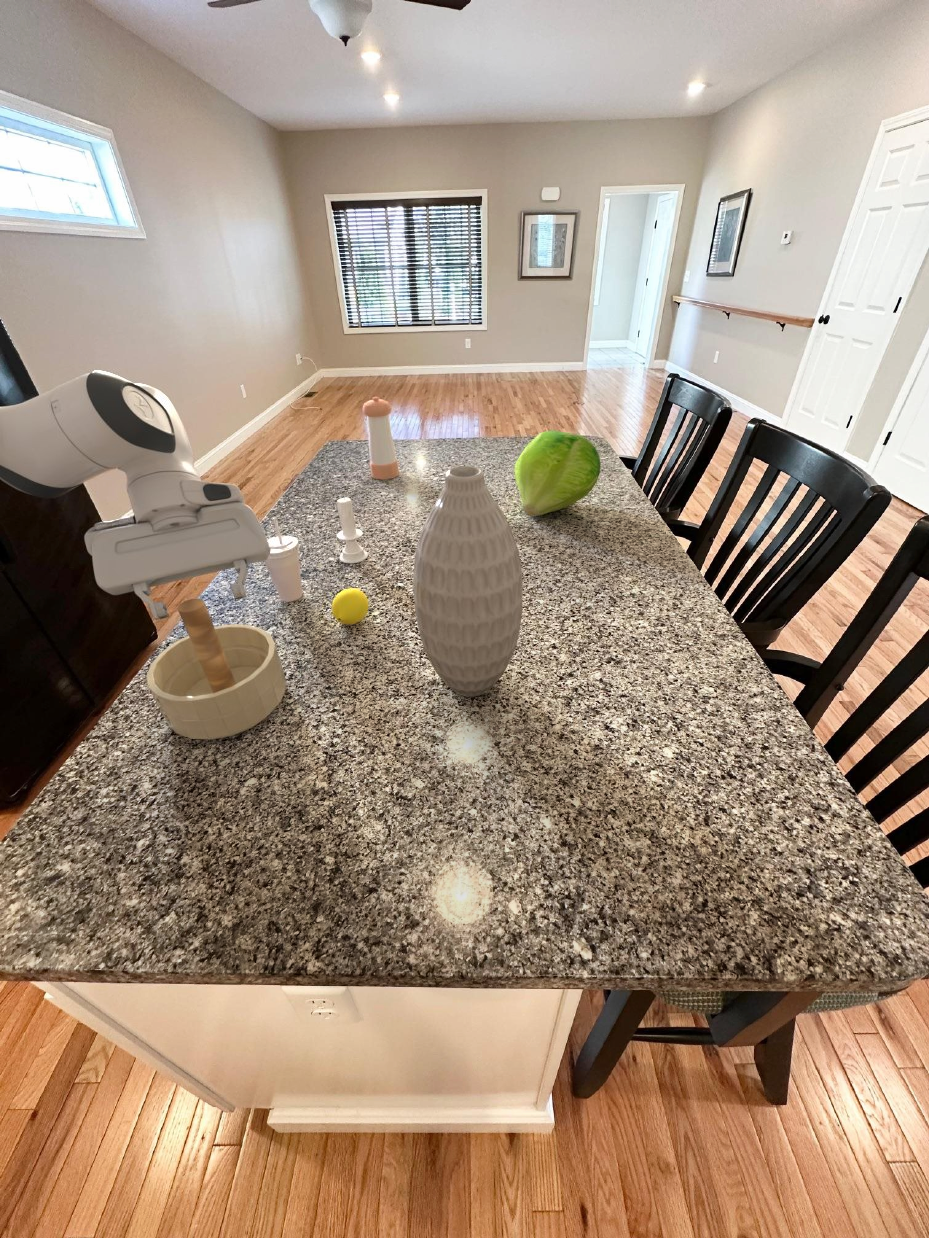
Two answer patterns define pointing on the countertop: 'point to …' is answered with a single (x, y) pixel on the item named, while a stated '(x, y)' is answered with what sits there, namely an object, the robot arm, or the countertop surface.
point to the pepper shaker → (380, 439)
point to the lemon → (350, 606)
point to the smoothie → (284, 565)
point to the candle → (349, 533)
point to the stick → (206, 644)
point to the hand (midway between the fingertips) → (202, 607)
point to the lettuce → (556, 471)
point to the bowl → (228, 710)
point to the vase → (468, 585)
